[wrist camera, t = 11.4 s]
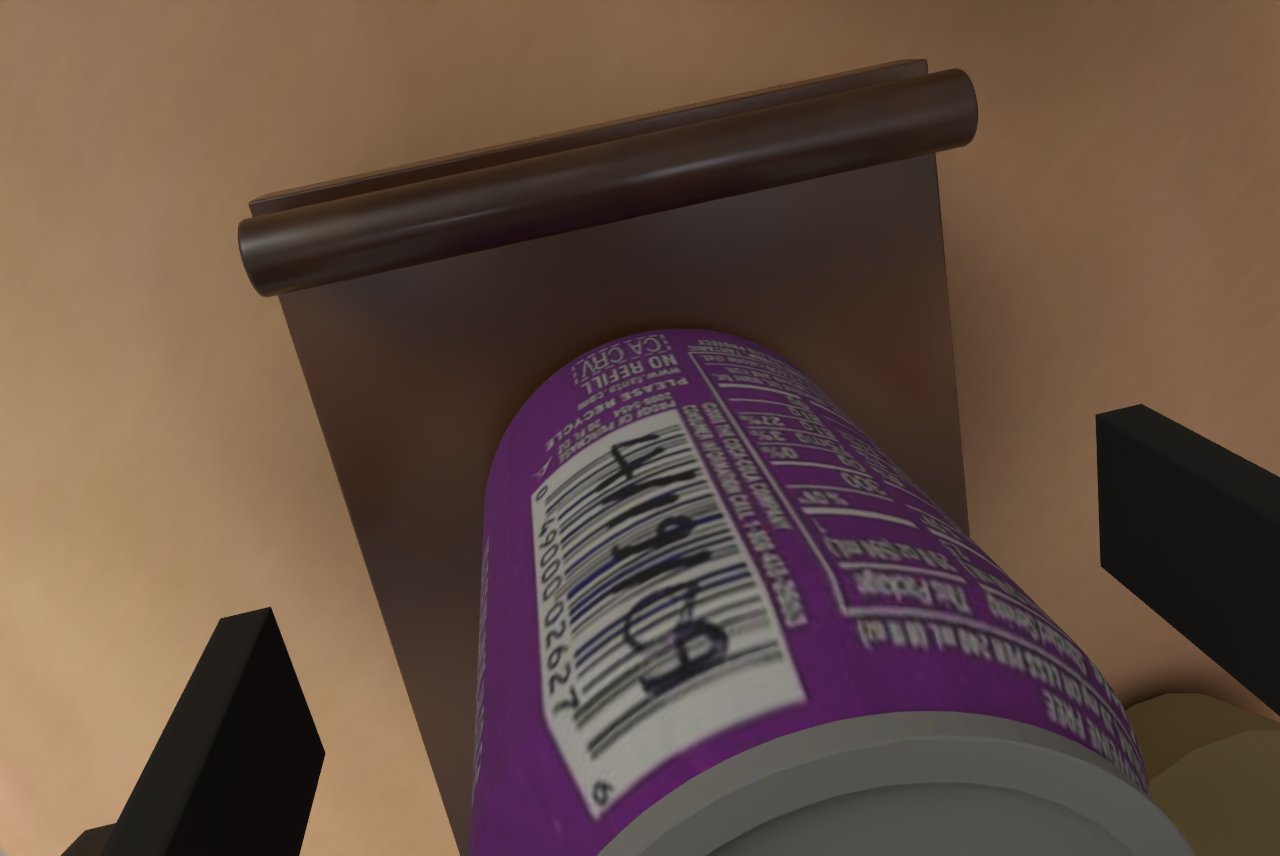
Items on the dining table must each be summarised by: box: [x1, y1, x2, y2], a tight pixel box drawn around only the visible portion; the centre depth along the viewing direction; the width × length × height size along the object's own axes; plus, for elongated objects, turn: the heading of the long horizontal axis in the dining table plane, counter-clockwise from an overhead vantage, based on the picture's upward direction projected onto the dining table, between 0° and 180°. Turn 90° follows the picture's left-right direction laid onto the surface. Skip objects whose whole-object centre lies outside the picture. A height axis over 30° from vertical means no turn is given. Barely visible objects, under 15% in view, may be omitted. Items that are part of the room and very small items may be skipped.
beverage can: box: [469, 329, 1196, 856], centre depth 14 cm, size 7×7×12 cm
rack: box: [238, 59, 978, 856], centre depth 22 cm, size 16×12×9 cm
